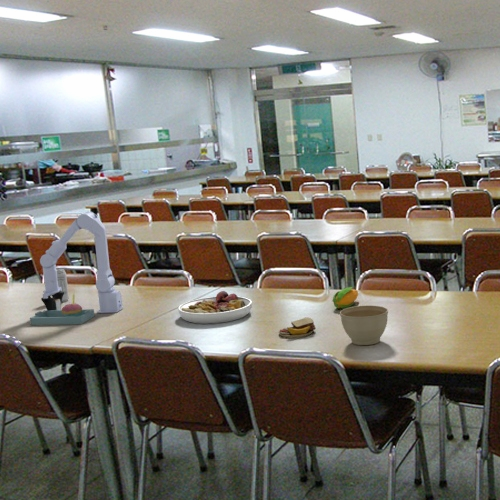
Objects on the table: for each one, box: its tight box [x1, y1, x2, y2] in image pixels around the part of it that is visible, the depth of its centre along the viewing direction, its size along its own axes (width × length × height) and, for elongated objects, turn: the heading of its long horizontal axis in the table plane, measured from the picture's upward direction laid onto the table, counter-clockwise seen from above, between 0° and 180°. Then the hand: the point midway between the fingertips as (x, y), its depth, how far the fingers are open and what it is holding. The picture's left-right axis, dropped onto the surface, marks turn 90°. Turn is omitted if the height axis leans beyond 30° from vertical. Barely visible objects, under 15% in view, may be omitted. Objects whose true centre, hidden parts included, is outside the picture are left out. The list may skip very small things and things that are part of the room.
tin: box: [53, 299, 62, 310], centre depth 344 cm, size 4×4×6 cm
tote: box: [29, 308, 95, 326], centre depth 330 cm, size 23×13×4 cm, turn 78°
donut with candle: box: [61, 293, 83, 317], centre depth 329 cm, size 9×8×12 cm
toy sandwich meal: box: [278, 317, 316, 339], centre depth 282 cm, size 12×14×5 cm
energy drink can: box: [56, 268, 70, 303], centre depth 369 cm, size 6×6×15 cm
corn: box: [332, 286, 359, 310], centre depth 318 cm, size 7×8×20 cm
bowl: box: [177, 290, 253, 325], centre depth 318 cm, size 30×30×8 cm
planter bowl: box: [339, 305, 389, 346], centre depth 265 cm, size 16×16×11 cm
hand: (54, 310), depth 344 cm, fingers open, 7 cm apart
